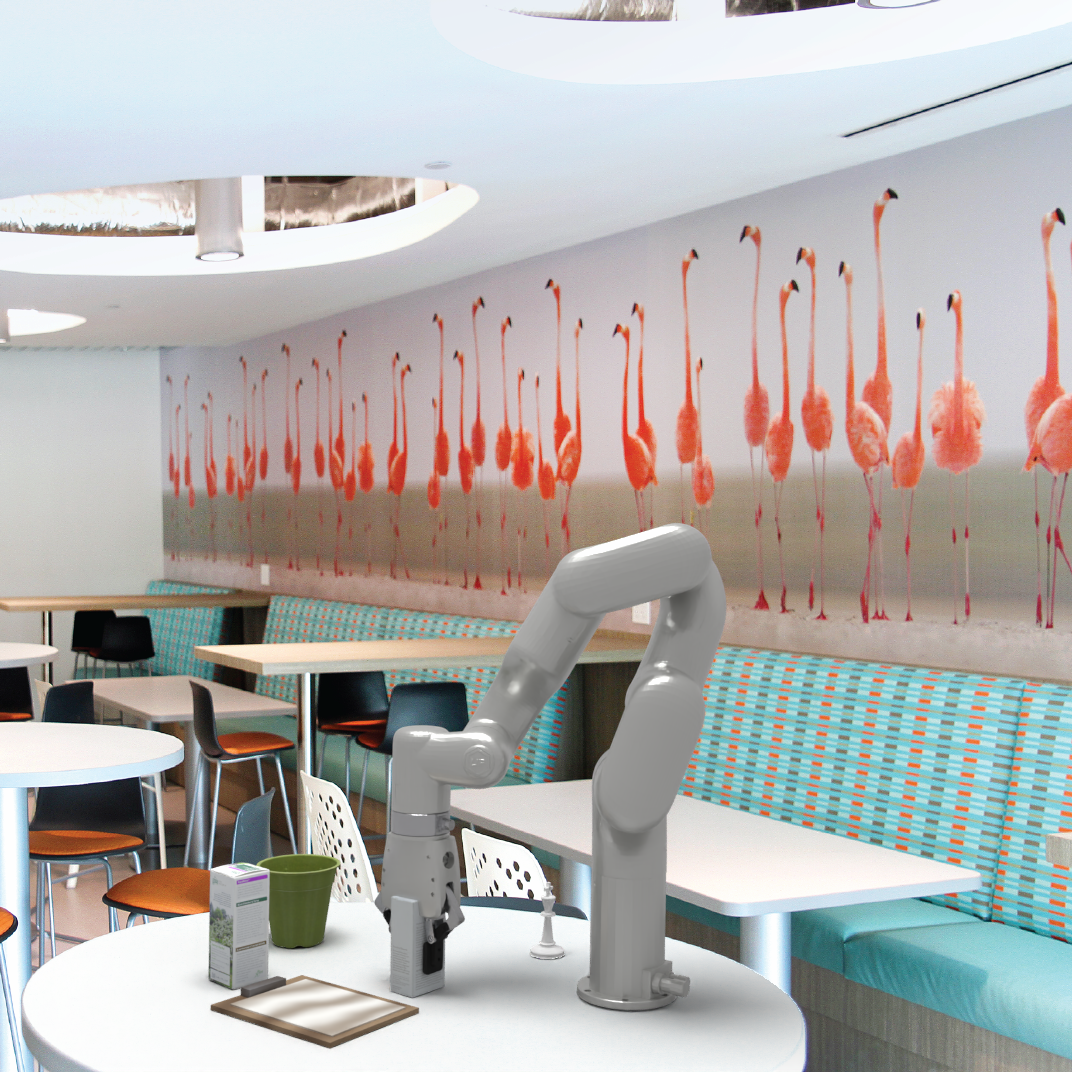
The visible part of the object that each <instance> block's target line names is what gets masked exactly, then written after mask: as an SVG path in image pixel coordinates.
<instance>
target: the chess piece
mask: <svg viewBox="0 0 1072 1072" xmlns="http://www.w3.org/2000/svg"><path fill="white" fill-rule="evenodd" d="M552 890H554V886H553V885H552V882H550V881H547V882H546V886H545V887H543V891H544V892H545V894H543V895H541V897H540V898H541V902H542V905H543V908H544V910H543V911H541V912H540V916H542V917H543V918H544V920H543V928H542V935H541V936H542V937H541V941H539V943H538V944H535V945H533V946H531V947H530V948H529V950H530V951H529V956H530V955H532V956H534V957H538V958H540V959H539V960H544V959H552V958H556V957H561V956H563V955H564V954H566V953H565V949H564V947H563V946H560V945H558V944H557V943H556V941H554V933H553V925H552V923H553V922H552V920H553V919H552V918H553V917H556V915H557V914H556V912H555V911H553V907H554V904H555V901H556V896H555V895H554V894H551V893H552ZM532 956H531V957H532ZM534 957H533V958H534Z"/></svg>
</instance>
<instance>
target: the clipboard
mask: <svg viewBox="0 0 1072 1072" xmlns="http://www.w3.org/2000/svg"><path fill="white" fill-rule="evenodd" d="M210 1011H213V1012H217V1013H220V1014H222V1015H225V1014H226V1015H225V1016H228V1015H229V1016H228V1017H231V1018H234V1017H235V1019H237V1018H239V1019H238V1020H241V1019H242V1020H241V1021H244V1020H245V1021H244V1022H248V1023H250V1022H251V1024H253V1023H255V1024H254V1025H256V1024H258V1025H257V1026H260V1027H262V1026H263V1027H262V1028H265V1027H266V1029H269V1030H272V1031H275V1032H278V1033H281V1034H285V1035H288V1036H291V1037H293V1038H294V1037H295V1038H297V1039H300V1040H303V1041H306V1042H309V1043H313V1044H316V1045H318V1046H319V1045H320V1046H322V1047H325V1048H328V1049H332V1048H334V1047H336V1046H339V1045H341V1043H342V1044H344V1043H346V1042H349V1041H352V1040H355V1039H356V1038H359V1037H362V1036H364V1035H367V1034H369V1033H371V1032H374V1031H376V1030H378V1029H382V1028H384V1027H387V1026H390V1025H392V1024H394V1023H397V1022H399V1021H401V1020H404V1019H407V1018H410V1017H412V1016H415V1015H417V1014H419V1013H420V1008H419V1007H417V1006H414V1005H410V1004H407V1003H403V1002H399V1001H397V1000H392V999H390V998H385V997H382V996H378V995H374V994H371V993H368V992H363V991H360V990H357V989H354V988H350V987H346V986H343V985H340V984H337V983H336V984H335V983H332V982H329V981H324V980H323V979H322V980H321V979H318V978H314V977H311V976H308V975H307V976H306V975H305V974H303V975H302V974H301V975H297V976H295V977H291V978H289V979H287V978H286V977H283V976H280V975H274V976H272V977H268V979H266V980H263V981H260V982H256V983H253V984H250V985H247V986H244V987H241V988H240V994H239V995H236V996H234V997H231V998H228V999H224V1000H221V1001H218V1002H215V1003H211V1004H210Z"/></svg>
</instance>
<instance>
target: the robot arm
mask: <svg viewBox="0 0 1072 1072" xmlns="http://www.w3.org/2000/svg"><path fill="white" fill-rule="evenodd" d="M712 555H713V554H712V548H711V546H710V543H709V541H708V539H707V538H706V536H705V535H704V534H703V533H702V532H701V531H700V530H698V529H697V528H695V527H694V526H691V525H689V524H686V523H681V522H680V523H679V522H671V523H668V524H664V525H661V526H657V527H654V528H651V529H647V530H643V531H641V532H637V533H634V534H630V535H627V536H624V537H620V538H618V539H614V540H611V541H610V540H609V541H606V542H603V543H599V544H594V545H591V546H587V547H583V548H578V549H575V550H573V551H571V552H569V553H567V554H566V555H564V557H562V559H561V560H560V561H559V562H558V564H557V566H556V568H555V570H554V571H553V573H552V575H551V577H550V578H549V580H548V581H547V583H546V585H545V586H544V588H543V590H542V591H541V593H540V595H539V596H538V598H537V600H536V602H535V604H533V607H532V608H531V610H530V611H529V613H528V615H527V617H526V618H525V619H524V621H523V622H522V624H521V626H520V628H518V629H519V630H518V631H517V632H516V634H515V636H514V637H513V638H512V640H511V642H510V644H509V645H508V647H507V650H506V652H505V653H504V656H503V659H502V663H501V665H500V668H499V670H498V671H497V674H496V676H495V678H494V679H493V681H492V682H491V684H490V686H489V688H488V689H487V692H486V693H485V695H484V696H483V697H482V700H481V701H480V702H479V705H478V706H477V708H476V709H475V710H474V712H473V714H472V716H471V718H470V719H469V721H468V722H467V724H466V726H465V727H464V728H463V730H462V731H461V730H460V731H449V730H448V729H446V728H445V727H442V726H435V725H426V724H425V725H424V724H420V725H419V724H417V725H408V726H407V725H406V726H403V727H400V728H398V729H397V730H396V731H395V732H394V735H393V739H392V759H391V760H392V763H391V764H392V766H391V767H392V768H391V770H392V771H391V772H392V773H391V807H390V808H391V810H390V814H391V815H390V831H389V832H388V833H387V837H386V841H385V845H384V852H383V858H382V859H383V860H382V867H381V869H382V870H381V881H380V882H381V885H380V891H379V893H378V894H377V896H376V898H375V899H374V905H375V907H376V908H377V909H378V912H380V913H381V914H382V916H383V918H384V920H385V922H386V923H387V925H388V932H389V934H390V935H391V897H393V896H398V897H403V898H408V899H413V900H417V901H418V905H419V915H420V916H421V917H423V918H424V922H425V928H426V935H427V942H424V944H423V973H424V974H425V975H430V974H432V973H435V972H438V971H440V970H442V968H443V940H444V939H445V940H446V939H448V938H449V935H450V933H452V932H453V931H454V930H455V928H457V927H458V926H460V925H461V924H463V923H464V922H465V920H466V918H465V915H464V913H463V911H462V908H461V902H462V901H461V900H462V899H461V898H462V897H461V895H462V893H461V892H462V891H461V890H462V889H461V871H460V859H459V852H458V846H457V841H456V837H455V836H454V835H451V832H450V831H453V830H454V829H455V827H456V822H455V820H454V819H451V792H452V786H455V787H461V788H466V789H475V790H483V789H489V788H492V787H495V786H496V785H497V784H499V783H500V782H501V781H502V780H503V779H504V778H505V776H506V775H507V773H508V770H509V767H510V765H511V761H512V759H513V758H514V756H515V754H516V752H517V751H518V749H519V747H520V746H521V744H522V742H523V741H524V739H525V738H526V735H527V734H528V732H529V731H530V729H531V727H532V726H533V725H534V722H535V721H536V719H537V718H538V716H539V714H541V711H543V708H544V707H545V705H546V704H547V703H548V702H549V700H550V699H551V698H552V697H553V696H554V695H555V694H556V693H557V692H558V691H559V690H560V689H561V688H562V687H563V685H564V683H565V682H566V681H567V679H568V677H569V676H570V675H571V673H572V671H573V670H574V668H575V666H576V664H577V663H578V661H579V660H580V658H581V656H582V654H583V653H584V651H585V649H586V648H587V646H588V645H589V643H590V641H591V640H592V638H593V636H594V635H595V633H596V631H597V630H598V628H599V627H600V626H601V623H602V621H603V620H604V618H605V617H606V615H607V614H608V613H613V612H617V611H621V610H624V609H629V608H633V607H635V606H640V605H643V604H646V603H650V602H653V601H654V602H655V601H656V600H659V610H658V615H657V618H656V620H655V624H654V627H653V629H652V632H651V635H650V639H649V641H648V644H647V647H646V649H645V652H644V654H643V656H642V659H641V661H640V664H639V666H638V668H637V670H636V673H635V675H634V677H633V679H632V681H631V683H630V684H629V686H628V688H627V690H626V695H625V698H624V699H625V700H624V706H625V707H624V710H623V712H622V715H621V718H620V721H619V723H618V726H617V728H616V731H615V734H614V736H613V739H612V742H611V744H610V747H609V749H607V750H606V751H604V753H603V754H602V755H601V756H600V758H599V759H598V760H597V762H596V764H595V766H594V770H593V772H592V779H591V818H592V820H591V831H592V832H591V870H590V871H591V875H590V876H591V879H590V921H589V922H590V925H589V926H590V928H589V929H590V930H589V931H590V934H589V974H588V975H586V976H584V977H581V978H580V979H579V980H578V981H577V983H576V994H577V996H578V997H579V998H580V999H581V1000H583V1001H585V1002H586V1003H588V1004H591V1005H594V1006H598V1007H601V1008H606V1009H613V1010H619V1011H623V1010H624V1011H644V1010H645V1011H647V1010H654V1009H658V1008H662V1007H665V1006H668V1005H670V1004H672V1003H673V1002H674V1001H675V1000H676V998H677V997H681V998H687V997H688V996H689V993H690V990H691V989H690V987H691V986H690V984H691V978H690V977H689V976H687V975H682V974H675V972H674V971H673V961H672V960H669V959H665V958H666V915H667V914H666V912H667V911H666V905H667V903H666V902H667V898H666V895H667V872H668V871H667V868H668V867H667V864H668V829H667V828H668V827H667V826H668V822H667V821H668V820H667V819H668V818H667V817H668V814H669V813H670V810H671V809H672V807H673V805H674V802H675V799H676V798H677V795H678V793H679V790H680V789H681V788H680V787H681V786H682V783H683V779H684V777H685V776H686V773H687V770H688V767H689V765H690V762H691V759H692V757H693V755H694V753H695V749H696V747H697V744H698V741H699V740H700V739H699V738H700V736H701V734H702V731H703V730H702V729H703V728H704V723H705V717H706V703H705V700H704V699H705V698H704V695H703V691H704V687H705V684H706V681H707V679H708V676H709V673H710V671H711V668H712V665H713V663H714V661H715V658H716V657H715V655H716V653H717V650H718V648H719V644H720V643H721V642H720V641H721V640H722V636H723V632H724V629H725V623H726V619H727V617H726V616H727V596H726V589H725V586H724V582H723V579H722V576H721V573H720V571H719V568H718V567H717V565H716V563H715V562H714V560H713V558H712V557H713V556H712ZM444 908H445V909H444ZM446 914H447V917H448V918H447V917H446ZM434 921H436V922H437V928H436V929H435V922H434Z"/></svg>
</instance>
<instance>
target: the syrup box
mask: <svg viewBox="0 0 1072 1072" xmlns="http://www.w3.org/2000/svg"><path fill="white" fill-rule="evenodd" d="M209 876H210V877H209V919H208V920H209V923H208V924H209V925H208V928H209V929H208V981H210V982H211V981H212V982H214V983H216V984H219V985H221V986H224V987H225V988H229V989H231V990H236V989H237V990H238V989H241V987H244V986H247V985H250V984H253V983H256V982H260V981H263V980H266V979H269V945H270V943H269V941H270V940H269V938H270V936H269V935H270V933H269V931H270V923H269V887H270V870H269V869H266V868H262V867H259V866H256V865H255V864H252V863H249V862H235V863H230V864H229V863H228V864H224V865H220V866H216V867H214V868H210V872H209Z"/></svg>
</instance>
